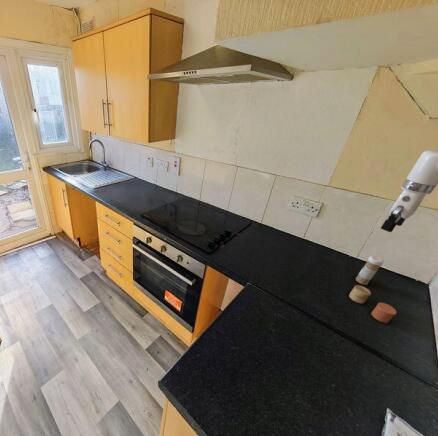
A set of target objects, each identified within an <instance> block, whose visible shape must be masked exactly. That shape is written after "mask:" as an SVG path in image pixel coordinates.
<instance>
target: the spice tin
mask: <svg viewBox="0 0 438 436" xmlns="http://www.w3.org/2000/svg"><path fill="white" fill-rule="evenodd" d="M371 294H372V292H371V291H370V289H369V288H366V287H365V286H363V285H359V284H357V285H354V287H353V288H352V289H351V291H350V293H349V294H348V296H349V298H350V299H351V300H352V301H353V302H355V303H358V304H365V303H366V302H367V300H368V299H369V297H370V296H371Z"/></svg>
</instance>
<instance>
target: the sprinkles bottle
mask: <svg viewBox="0 0 438 436" xmlns="http://www.w3.org/2000/svg"><path fill="white" fill-rule="evenodd" d="M384 263H385V262H384V259H383V258H381V257H379V256H376V255H370V256H369V257H368V258H367V261H366V263H365V264H364V266H363V267H362V268H361V269H360V271H359V273H358V274H357V276H356V277H355V281H356V282H357V283H359V284H361V285H362V286H363V285H364V286H368V285H369V283H370V281H371V280H372V279H373V277H374V276H375V275H376V274H377V272H378V270H379V269H380V267H381V266H383V264H384Z"/></svg>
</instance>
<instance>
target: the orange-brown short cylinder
mask: <svg viewBox="0 0 438 436" xmlns="http://www.w3.org/2000/svg"><path fill="white" fill-rule="evenodd" d="M370 314H371V317H373V318H374V319H375V320H377V321H378V322H381V323H385V324H388V323H390V322H391V320H392V319H393V318H394V317H395V316H396V315H397V310H396V308H394V307H393V306H391V305H390V304H388V303H385V302H378V303H377V304H376V306H374V308H373V309H372V311H371V312H370Z"/></svg>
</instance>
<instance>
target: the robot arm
mask: <svg viewBox="0 0 438 436" xmlns="http://www.w3.org/2000/svg"><path fill="white" fill-rule="evenodd" d="M437 185H438V150H436V149H427V150H425V151H423V152H422V153H421V155H420V156H419V157H418V159H417V161H416V162H415V164H414V165H413V167H412V169H411V170H410V171H409V173H408V174H407V176H406V177H405V180H404V181H403V183H402V185H401V186H400V188H401V190H402V192H401V193H400V194H399V196H398V197H397V199H396V200H395V202H394V203H393V205H392V207H391V209H390V211H389V215H388V217H387V218H386V219H385V220H384V222H383V223H382V225H381V226H380V229H381V230H383V231H386V232H388V233H392V232H393V231H394V229H395V228H396V226H398V227H401V226H402V225H403V224H404V222H405V221H406V220H407V219H408V218H410V217H412V216H413V215H414V214H415V212H416V211H417V210H418V208H419V206H420V205H421V203H422V202H423V201H424V199H425V197H426V195H431V194H432V192H433V191H434V190H435V188H436V187H437Z"/></svg>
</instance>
